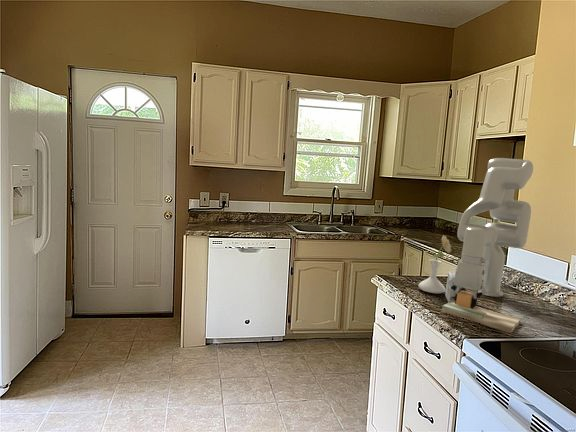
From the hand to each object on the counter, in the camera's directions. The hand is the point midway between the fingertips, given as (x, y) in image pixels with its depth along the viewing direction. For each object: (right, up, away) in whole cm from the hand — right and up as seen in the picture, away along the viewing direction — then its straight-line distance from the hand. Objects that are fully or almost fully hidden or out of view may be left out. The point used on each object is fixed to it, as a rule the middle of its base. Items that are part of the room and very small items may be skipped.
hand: (465, 304), depth 169 cm
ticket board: (+3, -3, -7) cm, 8 cm away
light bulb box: (+1, -1, +12) cm, 12 cm away
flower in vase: (-5, +1, +22) cm, 23 cm away
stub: (0, 0, 0) cm, 0 cm away
